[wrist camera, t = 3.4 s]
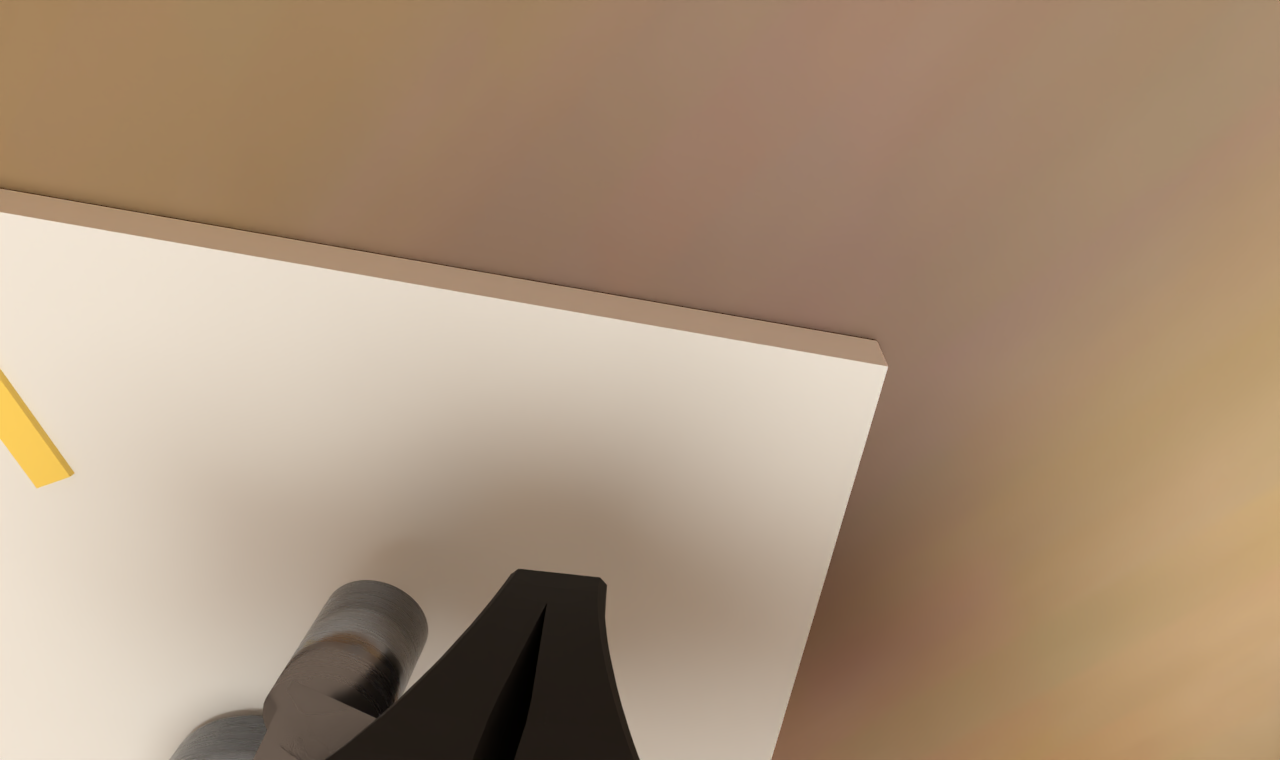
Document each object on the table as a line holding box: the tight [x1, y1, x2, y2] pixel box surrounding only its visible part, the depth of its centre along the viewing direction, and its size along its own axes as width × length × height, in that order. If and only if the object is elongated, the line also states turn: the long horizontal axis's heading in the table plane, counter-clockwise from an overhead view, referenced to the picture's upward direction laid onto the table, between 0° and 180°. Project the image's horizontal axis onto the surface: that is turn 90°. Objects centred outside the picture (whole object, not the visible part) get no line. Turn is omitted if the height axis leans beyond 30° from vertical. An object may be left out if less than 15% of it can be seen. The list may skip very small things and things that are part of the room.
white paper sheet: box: [0, 189, 888, 760], centre depth 17 cm, size 18×16×2 cm
